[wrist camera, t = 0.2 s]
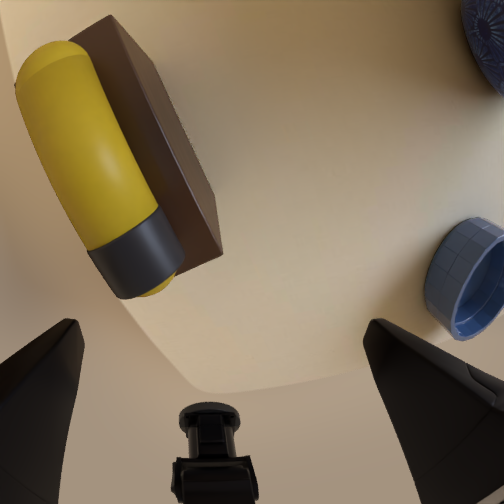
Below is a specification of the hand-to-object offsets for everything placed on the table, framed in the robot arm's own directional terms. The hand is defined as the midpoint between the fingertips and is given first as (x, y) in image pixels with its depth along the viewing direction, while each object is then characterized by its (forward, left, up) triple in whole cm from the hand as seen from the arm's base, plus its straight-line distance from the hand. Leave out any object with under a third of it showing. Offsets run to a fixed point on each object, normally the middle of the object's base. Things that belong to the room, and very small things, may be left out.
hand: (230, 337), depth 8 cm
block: (+4, +4, -12) cm, 14 cm away
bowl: (-4, -26, -12) cm, 29 cm away
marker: (+4, +4, -3) cm, 7 cm away
